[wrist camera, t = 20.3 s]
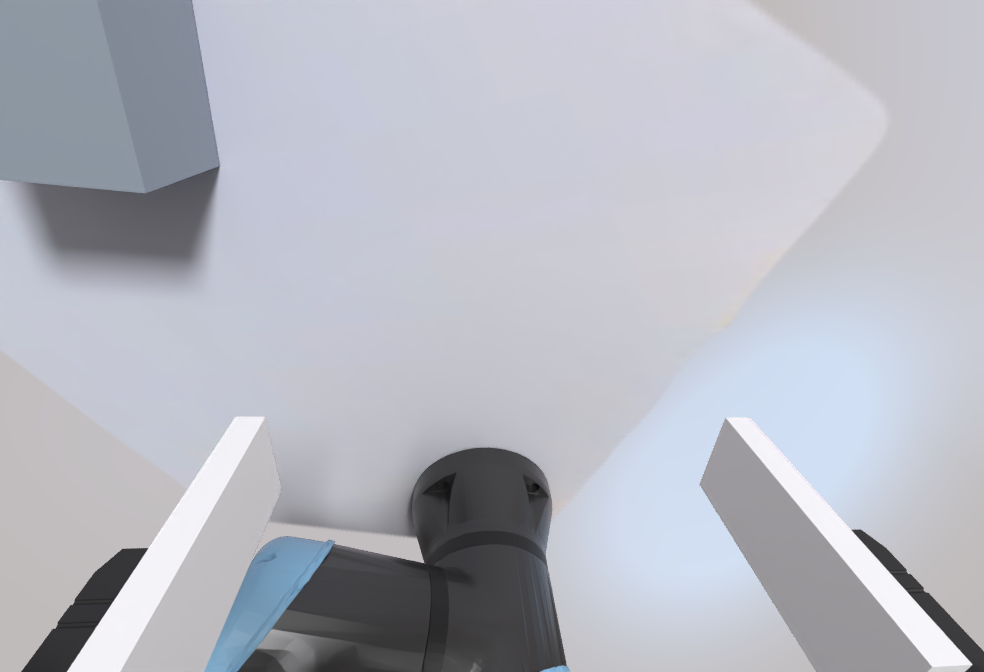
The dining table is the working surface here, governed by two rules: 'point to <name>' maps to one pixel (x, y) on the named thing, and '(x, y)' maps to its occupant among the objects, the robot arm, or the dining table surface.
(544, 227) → the dining table surface
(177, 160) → the matte gray-blue box
